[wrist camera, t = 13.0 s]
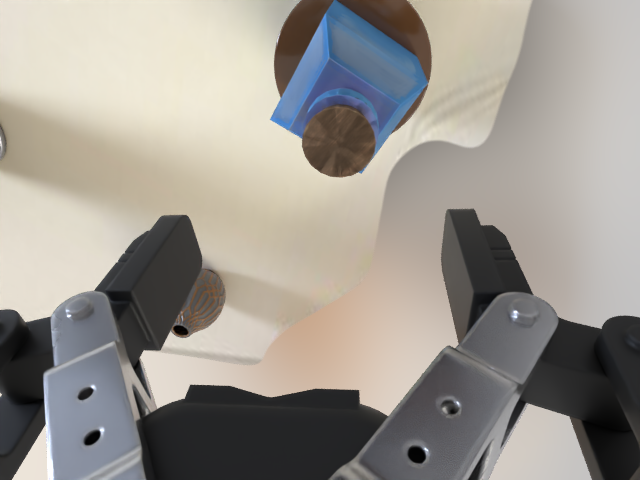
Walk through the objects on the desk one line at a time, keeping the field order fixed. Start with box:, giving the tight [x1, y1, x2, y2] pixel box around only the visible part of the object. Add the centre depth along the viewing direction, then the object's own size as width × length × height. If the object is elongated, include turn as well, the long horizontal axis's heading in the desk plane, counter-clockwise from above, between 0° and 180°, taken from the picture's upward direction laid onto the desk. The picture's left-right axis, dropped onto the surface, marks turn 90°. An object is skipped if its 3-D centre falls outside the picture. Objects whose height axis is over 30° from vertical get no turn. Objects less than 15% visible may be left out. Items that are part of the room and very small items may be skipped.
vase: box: [171, 269, 225, 338], centre depth 50 cm, size 7×7×9 cm
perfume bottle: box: [270, 0, 428, 177], centre depth 22 cm, size 6×6×12 cm
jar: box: [274, 0, 432, 134], centre depth 31 cm, size 10×10×10 cm
